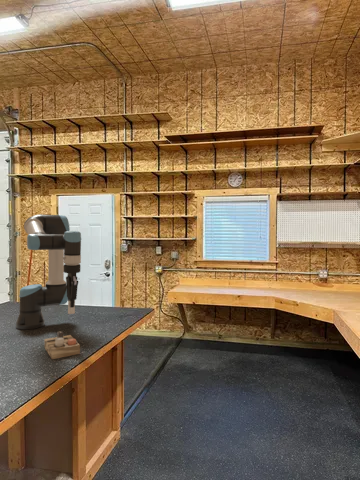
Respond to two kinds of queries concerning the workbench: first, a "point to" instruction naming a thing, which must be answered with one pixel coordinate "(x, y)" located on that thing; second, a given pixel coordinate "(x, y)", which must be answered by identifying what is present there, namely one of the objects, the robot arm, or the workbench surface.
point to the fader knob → (59, 334)
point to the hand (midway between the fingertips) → (71, 313)
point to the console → (61, 348)
